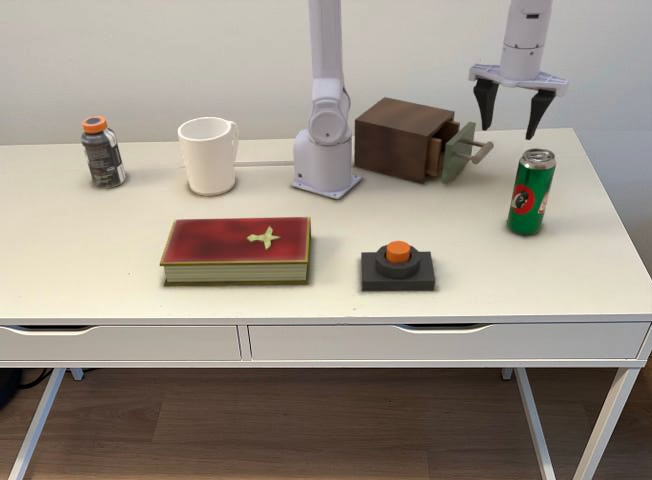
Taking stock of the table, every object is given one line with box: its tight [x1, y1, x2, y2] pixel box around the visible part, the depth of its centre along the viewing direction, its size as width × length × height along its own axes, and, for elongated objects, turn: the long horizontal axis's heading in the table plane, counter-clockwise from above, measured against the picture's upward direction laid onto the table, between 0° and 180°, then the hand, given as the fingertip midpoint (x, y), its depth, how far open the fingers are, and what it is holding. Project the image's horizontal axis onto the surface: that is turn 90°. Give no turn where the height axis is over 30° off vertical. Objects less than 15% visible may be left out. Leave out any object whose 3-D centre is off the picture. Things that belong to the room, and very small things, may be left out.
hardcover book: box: [159, 216, 312, 287], centre depth 98 cm, size 12×21×4 cm, turn 87°
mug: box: [177, 116, 240, 197], centre depth 113 cm, size 11×9×10 cm
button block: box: [360, 244, 436, 292], centre depth 93 cm, size 10×7×4 cm
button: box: [386, 240, 411, 263], centre depth 92 cm, size 3×3×2 cm
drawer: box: [426, 120, 495, 184], centre depth 113 cm, size 17×9×7 cm, turn 55°
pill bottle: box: [80, 115, 127, 189], centre depth 116 cm, size 6×6×11 cm
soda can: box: [506, 147, 557, 236], centre depth 97 cm, size 5×5×12 cm
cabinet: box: [353, 96, 456, 185], centre depth 116 cm, size 14×11×9 cm
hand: (507, 132), depth 104 cm, fingers open, 6 cm apart
